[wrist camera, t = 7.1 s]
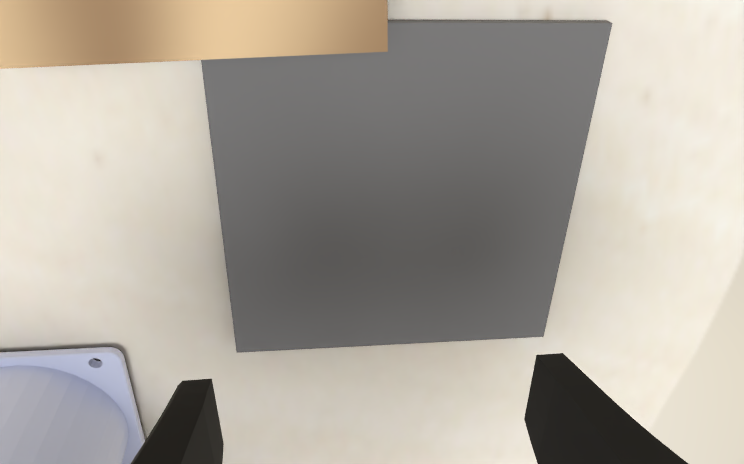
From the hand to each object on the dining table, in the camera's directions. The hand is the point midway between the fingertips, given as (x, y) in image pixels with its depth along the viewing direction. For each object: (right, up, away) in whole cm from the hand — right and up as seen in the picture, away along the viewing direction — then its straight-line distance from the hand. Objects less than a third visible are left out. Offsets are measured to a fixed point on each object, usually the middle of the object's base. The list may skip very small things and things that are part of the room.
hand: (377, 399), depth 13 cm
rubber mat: (+1, +5, +9) cm, 10 cm away
